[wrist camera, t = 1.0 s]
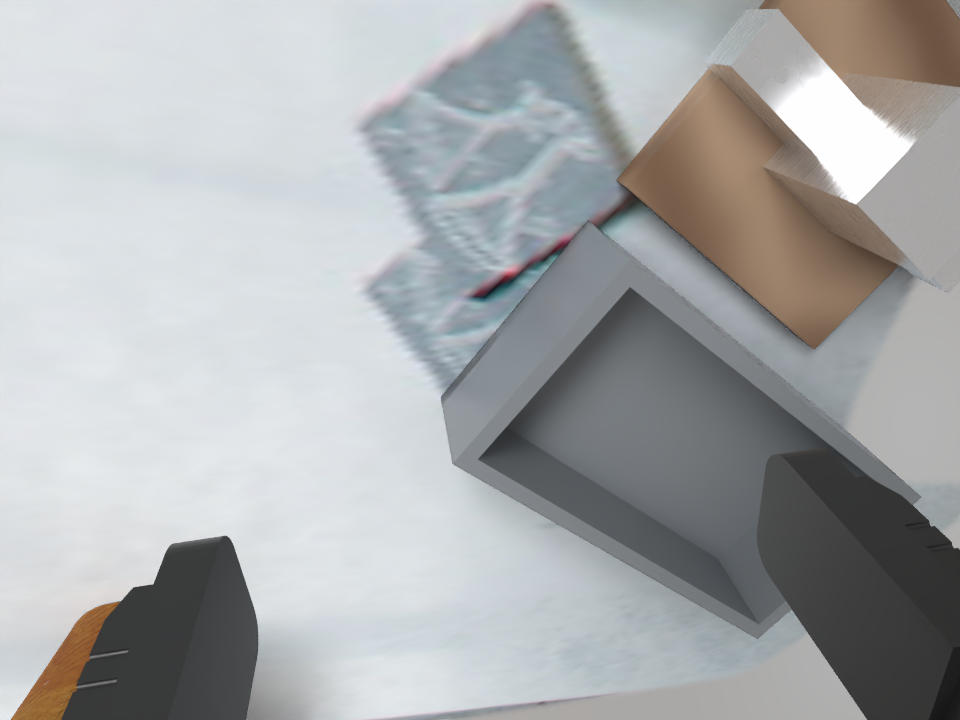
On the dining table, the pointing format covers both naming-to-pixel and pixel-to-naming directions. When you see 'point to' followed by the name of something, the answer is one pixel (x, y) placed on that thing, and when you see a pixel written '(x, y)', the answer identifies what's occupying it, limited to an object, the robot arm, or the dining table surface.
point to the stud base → (751, 144)
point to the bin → (640, 428)
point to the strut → (854, 145)
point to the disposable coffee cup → (64, 669)
